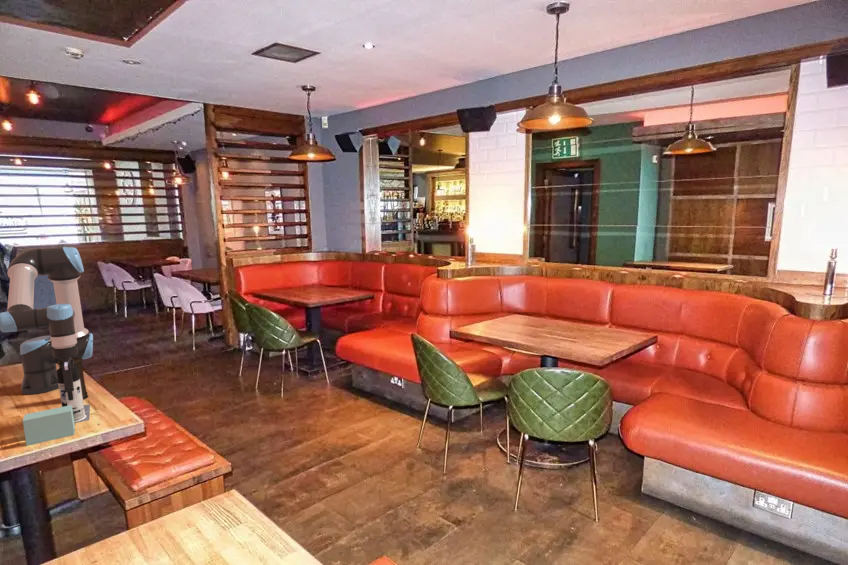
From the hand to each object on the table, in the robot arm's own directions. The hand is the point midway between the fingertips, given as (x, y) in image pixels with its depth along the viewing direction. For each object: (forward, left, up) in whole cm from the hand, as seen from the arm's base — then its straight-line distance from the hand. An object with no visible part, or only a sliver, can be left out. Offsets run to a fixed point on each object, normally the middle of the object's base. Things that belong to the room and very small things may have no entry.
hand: (72, 403), depth 179 cm
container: (-25, 0, -7) cm, 26 cm away
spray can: (0, 0, -6) cm, 6 cm away
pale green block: (+11, -6, -7) cm, 14 cm away
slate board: (-5, -4, -7) cm, 9 cm away
